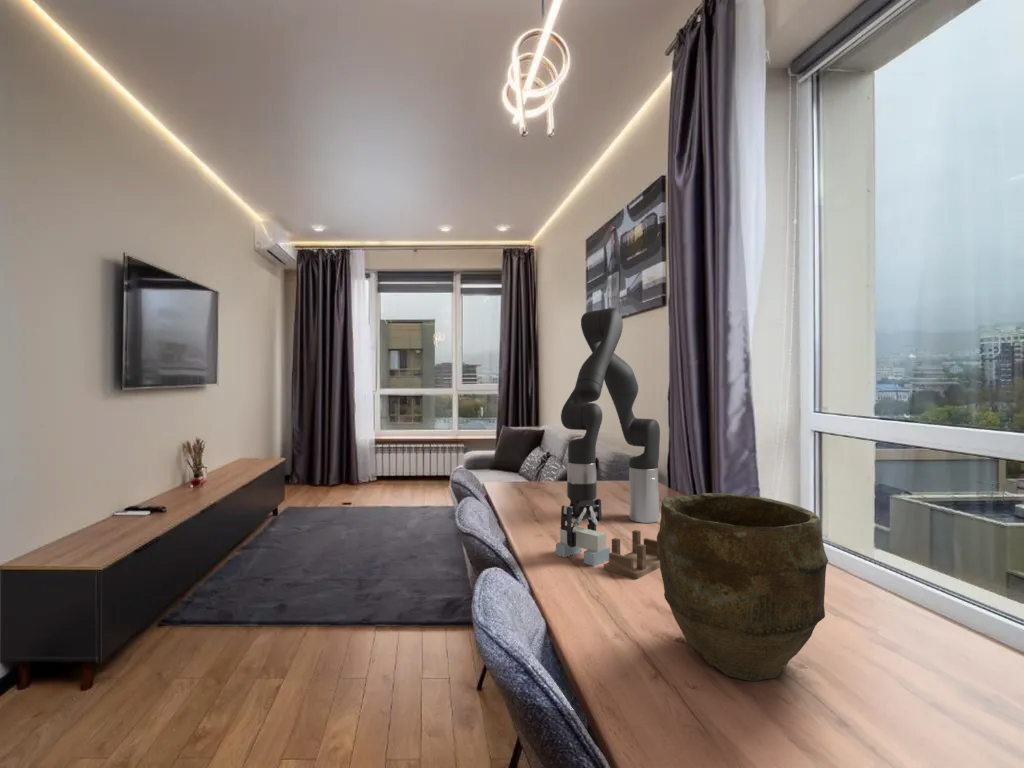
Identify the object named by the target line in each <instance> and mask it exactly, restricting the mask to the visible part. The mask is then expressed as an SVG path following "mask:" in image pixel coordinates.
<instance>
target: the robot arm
mask: <svg viewBox="0 0 1024 768" xmlns="http://www.w3.org/2000/svg"><path fill="white" fill-rule="evenodd" d="M580 326H581V327H580V328H581V331H582V334H583V337H584V339H585V341H586V343H587V345H588V347H589V349H590V350H591V354H590V355H589V356H588V357H587V358H586V359H585V361H584V362H583V363H582V365H581V367H580V369H579V372H578V374H577V379H576V382H575V386H574V389H573V390H572V392H571V393H570V395H569V397H568V398H567V400H566V401H565V403H564V405H563V407H562V410H561V411H560V412H561V413H560V421H561V424H562V426H563V427H564V428H566V429H567V430H570V431H571V430H573V431H574V430H575V431H576V430H577V431H585V434H584V436H583V437H580V438H574V439H571V440H569V442H568V444H567V447H568V448H567V458H568V459H567V461H568V463H567V468H566V469H567V470H566V474H567V480H566V481H567V482H566V483H567V484H566V488H567V489H566V491H567V492H566V496H567V498H568V499H569V501H570V503H569V505H562V506H561V513H560V515H561V516H560V527H561V529H562V530H566V531H567V544H568V546H570V547H575V546H576V532H575V531H576V529H577V527H579V525H581V522H582V521H584V520H586V522H587V523H588V524H587V529H590V530H594V531H597V526H598V523H599V522H602V500H601V498H597V466H596V465H597V464H596V447H597V441H598V436H599V434H600V433H599V431H600V429H601V426H602V422H603V410H602V408H601V407H600V405H598V404H597V403H595V402H596V401H598V400H599V399H600V397H601V393H602V391H603V386H604V384H605V386H606V388H607V391H608V393H609V395H610V398H611V400H612V403H613V405H614V408H615V410H616V414H617V416H618V420H619V423H620V427H621V431H622V434H623V438H624V440H625V442H626V443H627V445H630V446H634V447H641V448H644V449H643V451H642V452H643V453H641V454H638V455H636V456H632V457H631V458H630V459H628V460H629V461H628V463H629V464H628V465H629V467H628V468H629V473H628V475H629V477H628V480H629V483H628V484H629V489H628V490H629V496H628V497H629V520H631V521H632V522H637V523H643V524H644V523H647V524H650V523H657V522H658V521H659V519H660V490H659V459H660V443H661V442H660V440H661V439H660V438H661V429H660V424H659V423H658V420H656V419H654V418H653V419H652V418H638V417H637V418H636V416H635V414H634V411H633V406H634V403H635V401H636V398H637V397H638V396H637V395H638V393H639V385H638V381H637V379H636V376H635V373H634V371H633V369H632V367H631V366H630V365H629V364H628V362H626V361H625V360H624V359H622V358H621V357H620V356H618V355H617V354H616V353H615V351H616V349H617V346H618V343H619V341H620V340H621V339H620V338H621V336H622V333H623V328H624V322H623V317H622V314H621V312H620V311H619V310H618V309H617V308H615V307H614V308H611V307H608V308H602V309H597V310H592V311H591V310H590V311H588V312H585V313H583V314H582V316H581V318H580ZM596 513H597V515H596ZM572 524H573V527H571V525H572Z"/></svg>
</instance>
